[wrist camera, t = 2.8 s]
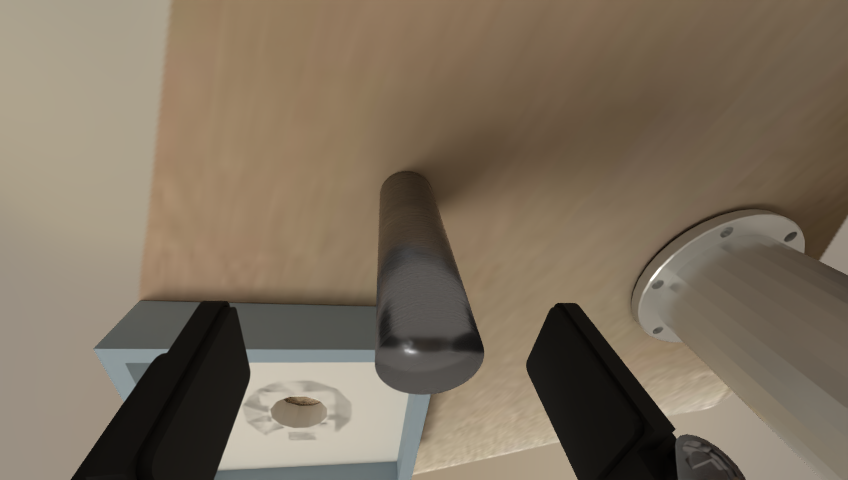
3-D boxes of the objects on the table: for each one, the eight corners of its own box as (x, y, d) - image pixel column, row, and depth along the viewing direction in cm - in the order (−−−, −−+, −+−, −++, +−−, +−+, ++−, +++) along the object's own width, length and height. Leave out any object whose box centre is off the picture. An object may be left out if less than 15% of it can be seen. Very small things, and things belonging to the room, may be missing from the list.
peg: (435, 173, 19) (495, 322, 9) (428, 221, 21) (471, 393, 10) (381, 168, 18) (377, 320, 8) (378, 218, 20) (372, 395, 10)
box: (433, 307, 24) (441, 350, 21) (406, 446, 35) (408, 489, 31) (139, 300, 21) (93, 348, 18) (204, 455, 31) (182, 504, 28)
